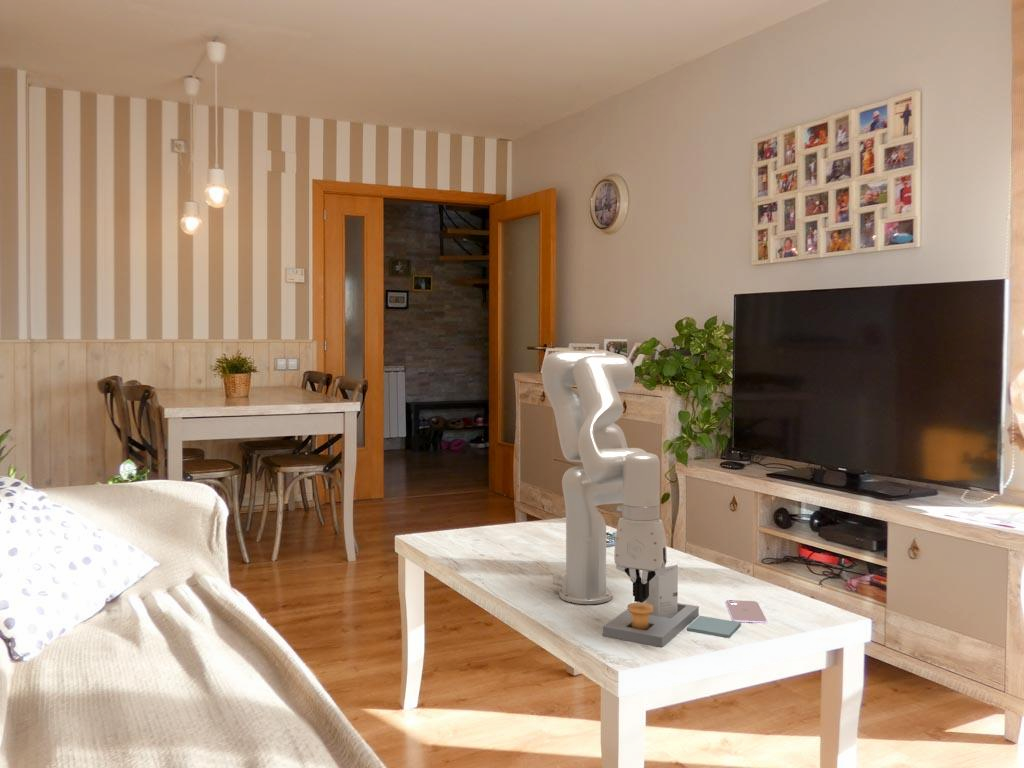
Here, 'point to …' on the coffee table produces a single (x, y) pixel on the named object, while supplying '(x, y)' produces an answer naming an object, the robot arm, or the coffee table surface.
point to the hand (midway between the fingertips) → (640, 600)
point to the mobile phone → (745, 611)
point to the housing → (651, 626)
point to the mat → (714, 626)
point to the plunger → (640, 615)
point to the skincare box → (664, 592)
